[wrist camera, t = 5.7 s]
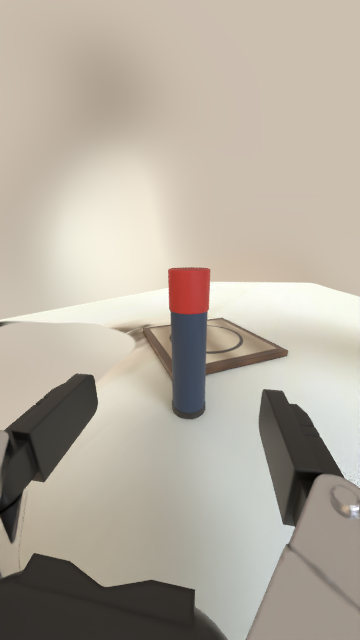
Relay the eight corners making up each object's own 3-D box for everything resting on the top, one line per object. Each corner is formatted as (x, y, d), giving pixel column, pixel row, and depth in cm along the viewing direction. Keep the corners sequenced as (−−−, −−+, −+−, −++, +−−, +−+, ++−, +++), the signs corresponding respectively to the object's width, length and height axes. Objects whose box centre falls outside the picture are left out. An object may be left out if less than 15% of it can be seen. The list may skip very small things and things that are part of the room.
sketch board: (222, 321, 42) (222, 316, 42) (287, 355, 28) (288, 349, 27) (143, 332, 36) (142, 327, 36) (173, 382, 22) (173, 374, 22)
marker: (196, 393, 20) (198, 267, 17) (211, 413, 18) (218, 269, 14) (167, 400, 19) (162, 268, 16) (178, 424, 17) (176, 271, 13)
